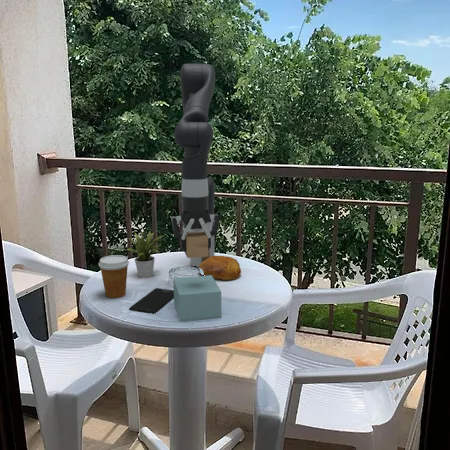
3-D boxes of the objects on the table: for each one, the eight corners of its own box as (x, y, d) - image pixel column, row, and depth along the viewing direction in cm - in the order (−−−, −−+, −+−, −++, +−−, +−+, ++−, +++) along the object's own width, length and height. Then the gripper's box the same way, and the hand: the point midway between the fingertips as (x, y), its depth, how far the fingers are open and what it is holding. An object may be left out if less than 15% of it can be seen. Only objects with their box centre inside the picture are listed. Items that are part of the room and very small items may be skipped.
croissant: (228, 290, 174) (230, 269, 171) (191, 276, 182) (193, 255, 179) (249, 276, 186) (251, 256, 183) (213, 264, 193) (215, 244, 191)
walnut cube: (184, 251, 150) (183, 232, 149) (204, 250, 152) (204, 231, 150) (187, 258, 145) (187, 237, 143) (208, 256, 146) (207, 236, 145)
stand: (173, 302, 158) (173, 278, 156) (211, 299, 160) (211, 275, 158) (180, 321, 145) (179, 295, 143) (221, 317, 147) (221, 291, 145)
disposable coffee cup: (101, 301, 159) (98, 265, 156) (100, 290, 168) (97, 256, 165) (132, 298, 161) (130, 262, 158) (129, 287, 170) (127, 253, 167)
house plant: (162, 283, 174) (161, 237, 170) (122, 283, 174) (120, 237, 170) (168, 269, 188) (167, 227, 184) (131, 269, 188) (128, 226, 184)
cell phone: (180, 293, 166) (180, 291, 166) (154, 315, 150) (154, 312, 149) (156, 290, 169) (156, 287, 169) (128, 311, 153) (128, 308, 152)
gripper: (217, 190, 149) (217, 245, 153) (168, 192, 146) (169, 248, 150) (222, 195, 142) (222, 252, 146) (171, 197, 139) (173, 256, 143)
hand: (195, 250), depth 148 cm, fingers closed on walnut cube, 6 cm apart
